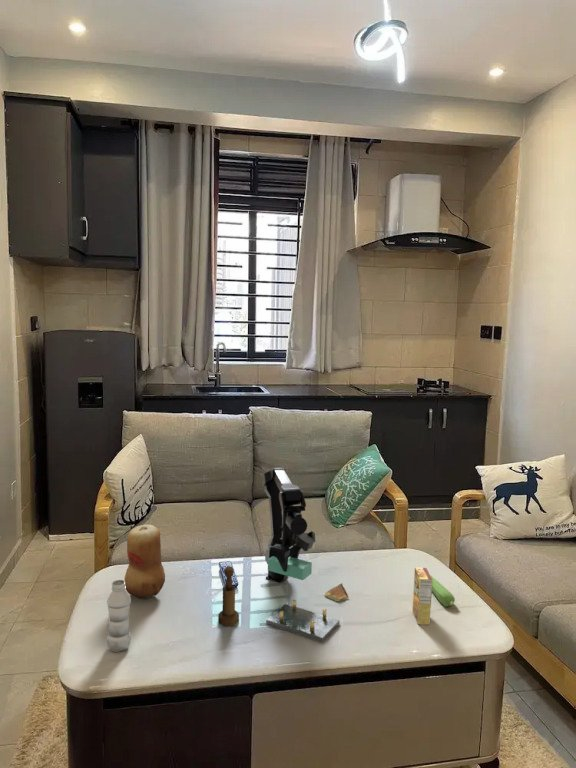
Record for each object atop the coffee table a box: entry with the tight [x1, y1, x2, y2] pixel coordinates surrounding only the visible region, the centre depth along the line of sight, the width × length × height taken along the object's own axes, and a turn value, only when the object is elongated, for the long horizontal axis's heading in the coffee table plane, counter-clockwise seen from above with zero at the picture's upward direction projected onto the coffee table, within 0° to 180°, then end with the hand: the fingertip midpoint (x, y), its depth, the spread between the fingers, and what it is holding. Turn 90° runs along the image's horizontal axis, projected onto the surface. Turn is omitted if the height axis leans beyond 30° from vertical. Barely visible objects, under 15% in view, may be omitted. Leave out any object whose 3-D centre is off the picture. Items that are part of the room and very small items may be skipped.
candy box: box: [412, 567, 433, 626], centre depth 185 cm, size 9×4×15 cm, turn 0°
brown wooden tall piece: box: [217, 566, 240, 627], centre depth 180 cm, size 7×6×18 cm
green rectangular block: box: [267, 556, 313, 581], centre depth 195 cm, size 14×6×4 cm, turn 58°
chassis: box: [265, 599, 340, 643], centre depth 180 cm, size 20×12×4 cm, turn 60°
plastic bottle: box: [106, 579, 132, 653], centre depth 164 cm, size 6×7×20 cm
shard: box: [324, 583, 349, 602], centre depth 201 cm, size 11×8×2 cm
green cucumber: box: [430, 574, 455, 608], centre depth 201 cm, size 5×20×5 cm
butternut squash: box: [124, 524, 166, 600], centre depth 195 cm, size 14×13×25 cm
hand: (289, 568), depth 195 cm, fingers closed on green rectangular block, 6 cm apart
